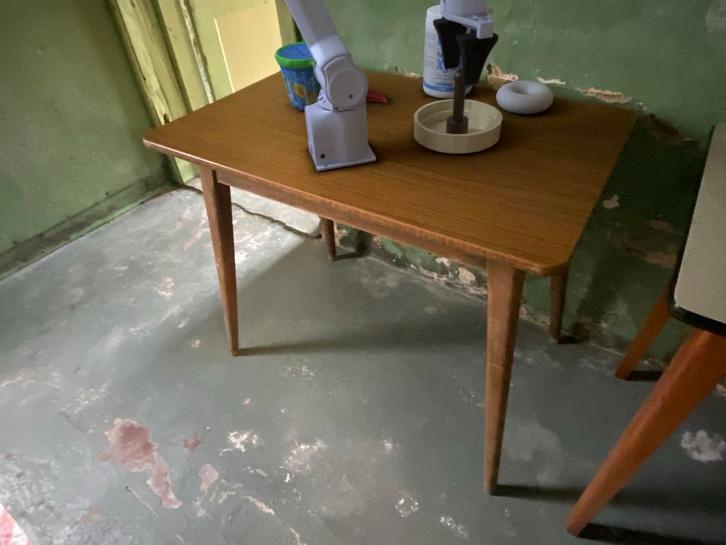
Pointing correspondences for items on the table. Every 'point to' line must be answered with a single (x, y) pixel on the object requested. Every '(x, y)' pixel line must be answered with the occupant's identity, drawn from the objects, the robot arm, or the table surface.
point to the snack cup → (298, 74)
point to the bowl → (480, 134)
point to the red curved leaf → (375, 96)
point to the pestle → (458, 108)
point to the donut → (524, 97)
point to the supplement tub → (437, 62)
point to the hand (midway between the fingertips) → (460, 75)
